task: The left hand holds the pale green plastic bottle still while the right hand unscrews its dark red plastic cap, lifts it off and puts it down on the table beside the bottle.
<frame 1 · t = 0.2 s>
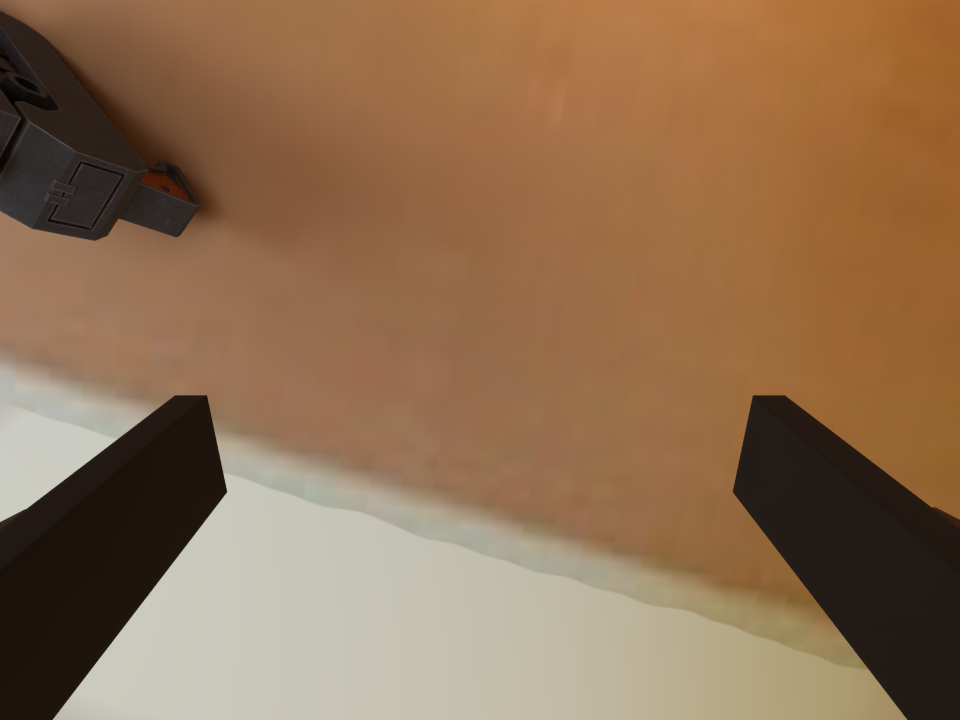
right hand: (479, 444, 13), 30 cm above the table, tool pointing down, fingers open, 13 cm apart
tool: (86, 117, 37), on the table
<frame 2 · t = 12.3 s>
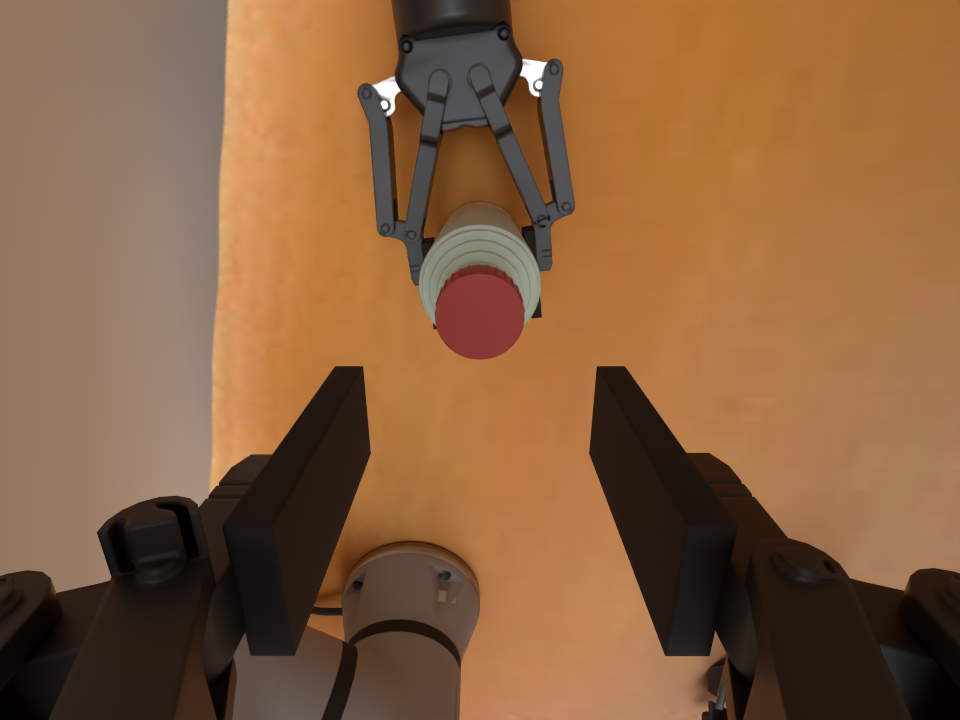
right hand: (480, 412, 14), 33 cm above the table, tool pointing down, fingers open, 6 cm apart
left hand: (487, 317, 40), fingers closed on bottle, 7 cm apart
cap: (479, 316, 23), point 23 cm above the table, screwed on, not yet turned
bottle: (479, 242, 45), on the table, touching left hand
tool: (754, 651, 62), on the table
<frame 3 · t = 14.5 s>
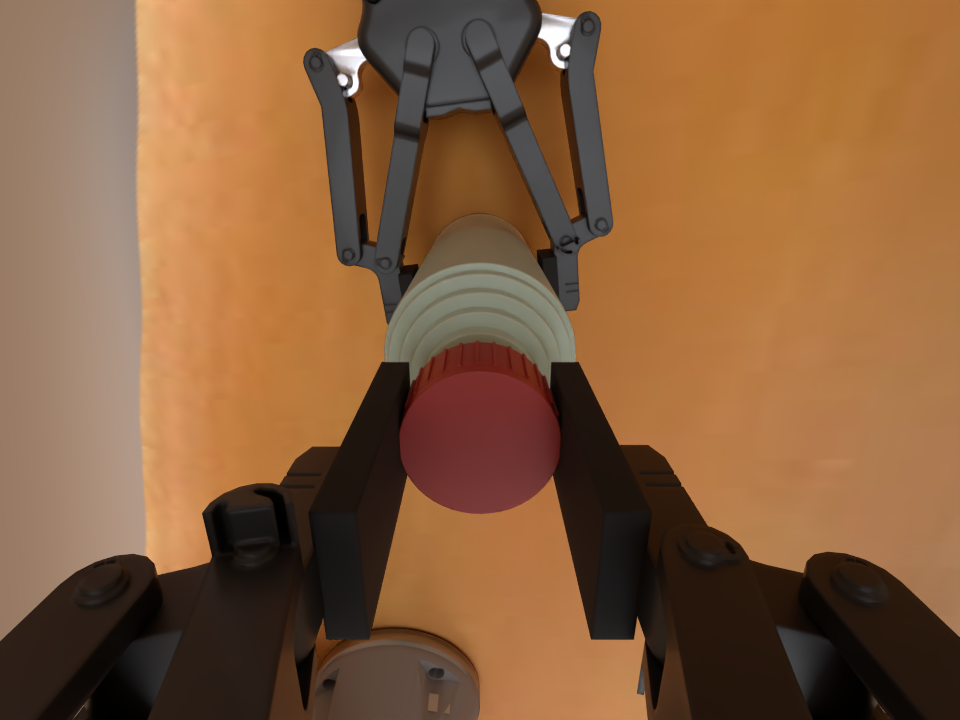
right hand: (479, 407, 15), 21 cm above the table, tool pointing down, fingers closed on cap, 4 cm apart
left hand: (489, 371, 30), fingers closed on bottle, 7 cm apart
cap: (480, 440, 13), point 23 cm above the table, screwed on, not yet turned, touching right hand
bottle: (480, 266, 34), on the table, touching left hand
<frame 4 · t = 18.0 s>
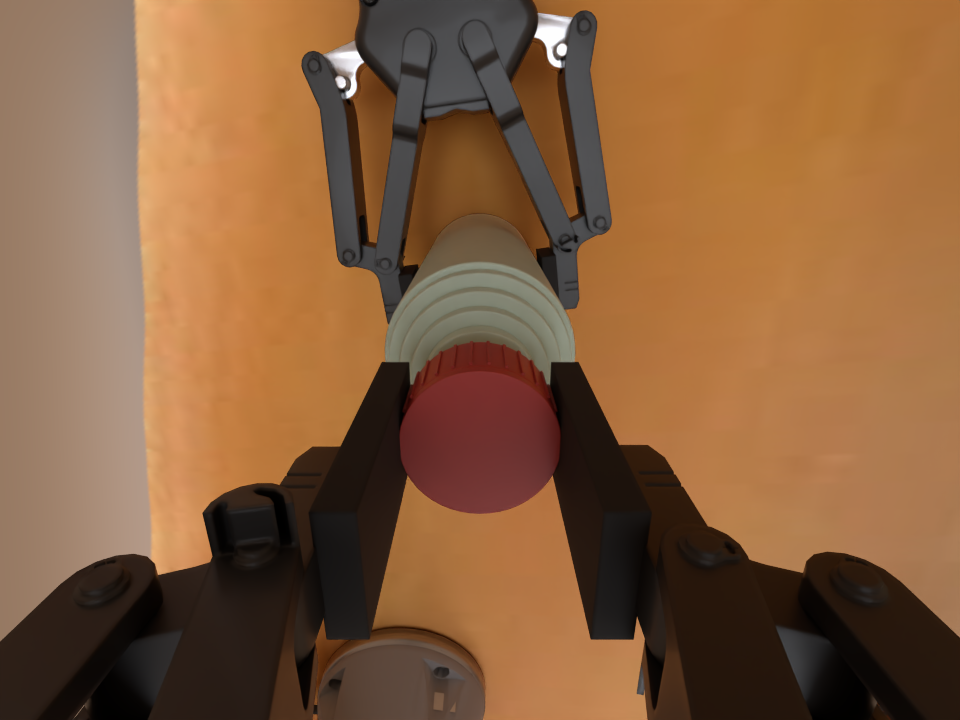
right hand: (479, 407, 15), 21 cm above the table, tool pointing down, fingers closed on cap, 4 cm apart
left hand: (490, 370, 30), fingers closed on bottle, 7 cm apart
cap: (480, 440, 13), point 23 cm above the table, turned 103° so far, risen 0.1 cm, still on its thread, touching right hand
bottle: (480, 265, 34), on the table, touching left hand
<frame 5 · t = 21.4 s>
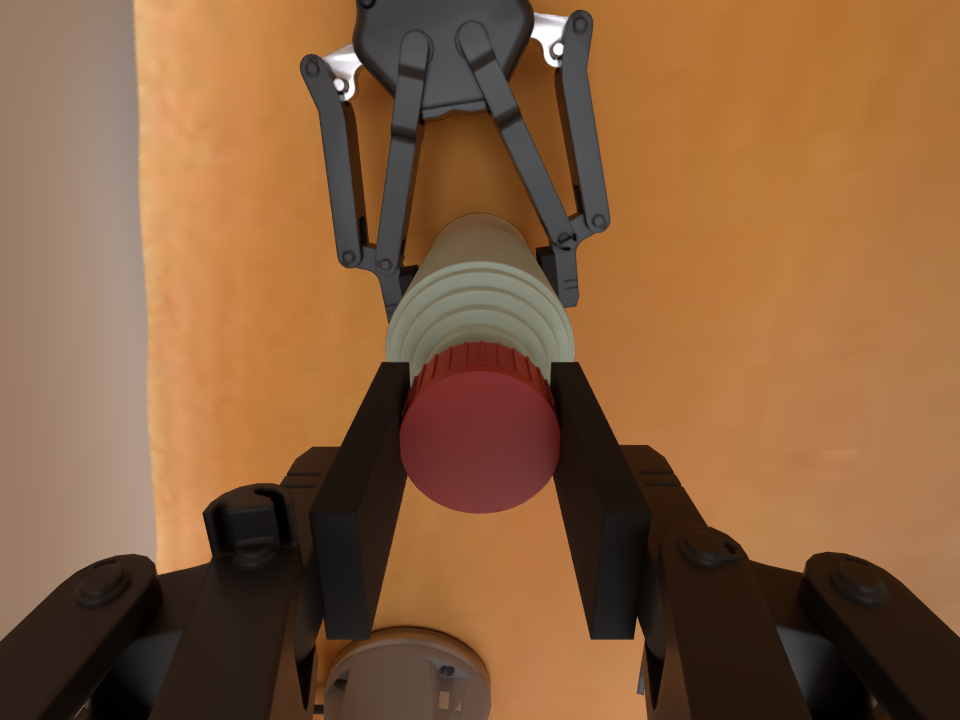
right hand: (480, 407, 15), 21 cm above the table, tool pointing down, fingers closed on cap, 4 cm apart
left hand: (491, 369, 30), fingers closed on bottle, 7 cm apart
cap: (480, 440, 13), point 23 cm above the table, turned 206° so far, risen 0.3 cm, still on its thread, touching right hand
bottle: (480, 265, 35), on the table, touching left hand
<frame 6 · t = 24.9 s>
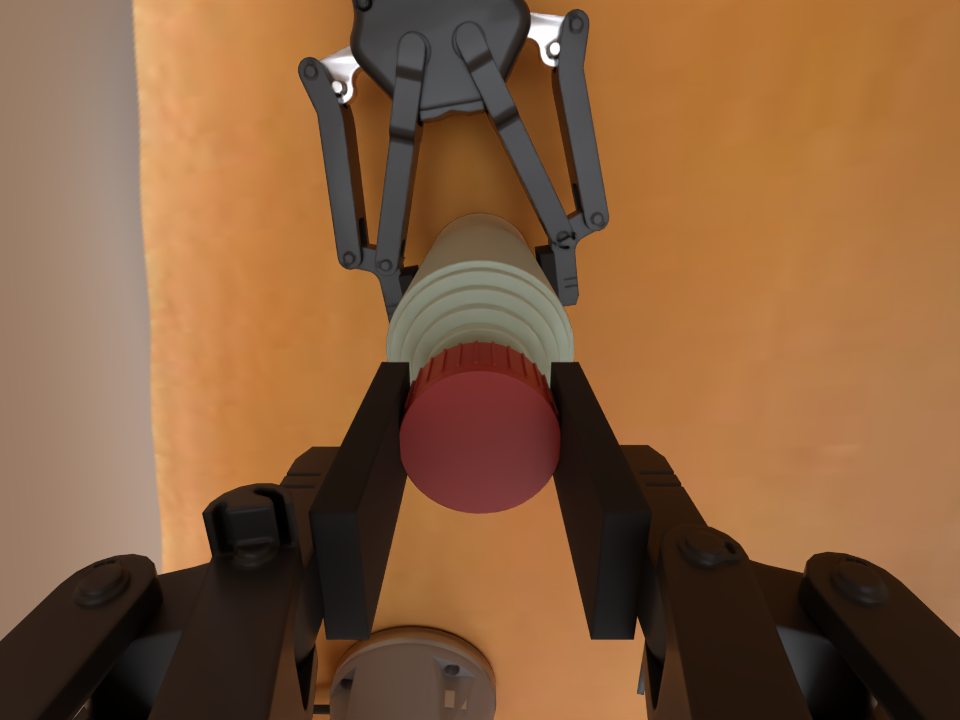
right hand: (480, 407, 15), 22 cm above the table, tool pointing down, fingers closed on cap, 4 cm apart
left hand: (492, 368, 30), fingers closed on bottle, 7 cm apart
cap: (480, 440, 13), point 23 cm above the table, turned 309° so far, risen 0.4 cm, still on its thread, touching right hand
bottle: (480, 265, 35), on the table, touching left hand
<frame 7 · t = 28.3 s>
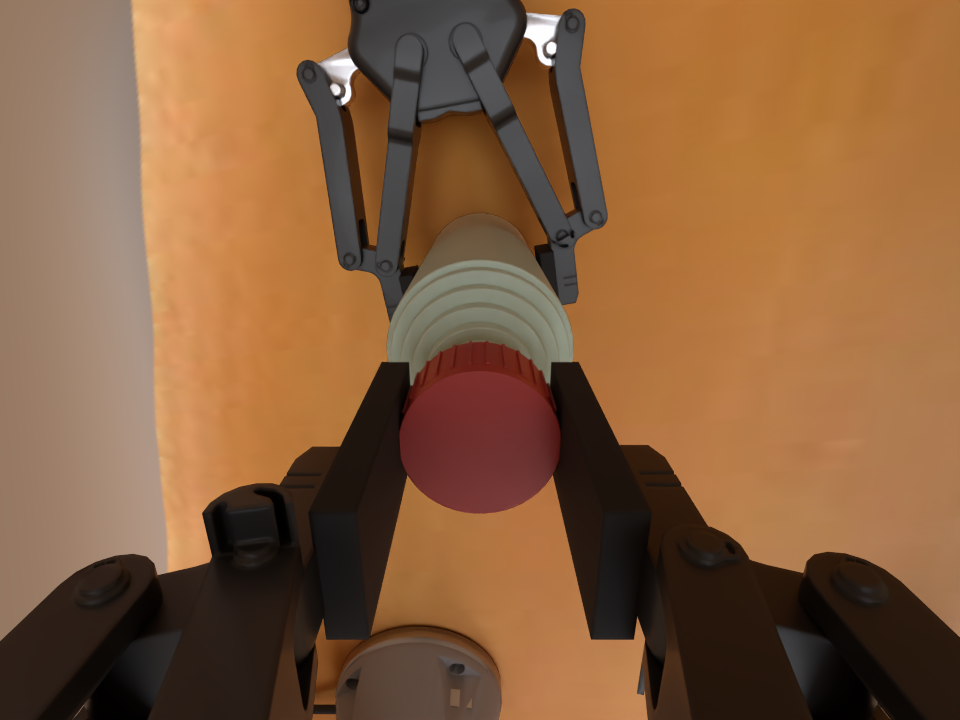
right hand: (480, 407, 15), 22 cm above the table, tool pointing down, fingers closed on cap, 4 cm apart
left hand: (493, 367, 31), fingers closed on bottle, 7 cm apart
cap: (480, 440, 13), point 24 cm above the table, turned 412° so far, risen 0.5 cm, still on its thread, touching right hand
bottle: (480, 264, 35), on the table, touching left hand
when the right hand's fingers open (2 cm above the table, at t = 35.9 s): cap drops 2 cm, point 2 cm above the table.
when the left hand's fingers open (6 cm above the table, at t = 37.2 s): bottle stays where it is, on the table.
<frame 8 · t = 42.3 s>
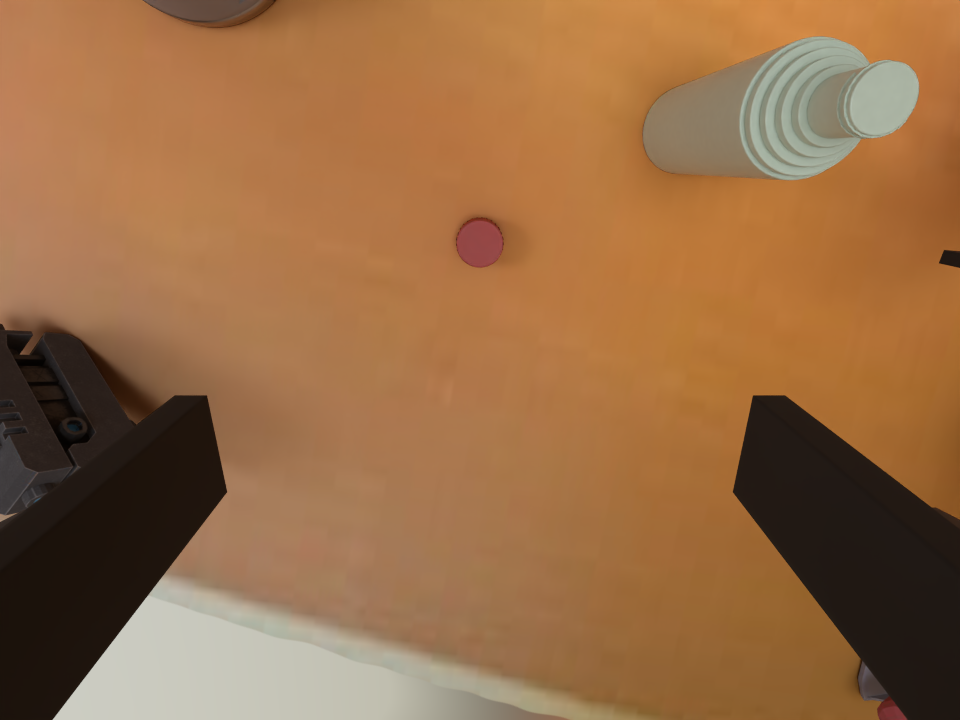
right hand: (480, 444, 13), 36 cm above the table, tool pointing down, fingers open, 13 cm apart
cap: (479, 243, 44), point 2 cm above the table, off its thread
bottle: (683, 130, 43), on the table
tool: (108, 387, 51), on the table
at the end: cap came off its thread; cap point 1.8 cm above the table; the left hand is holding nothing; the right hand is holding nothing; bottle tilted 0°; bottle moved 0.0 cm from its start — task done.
